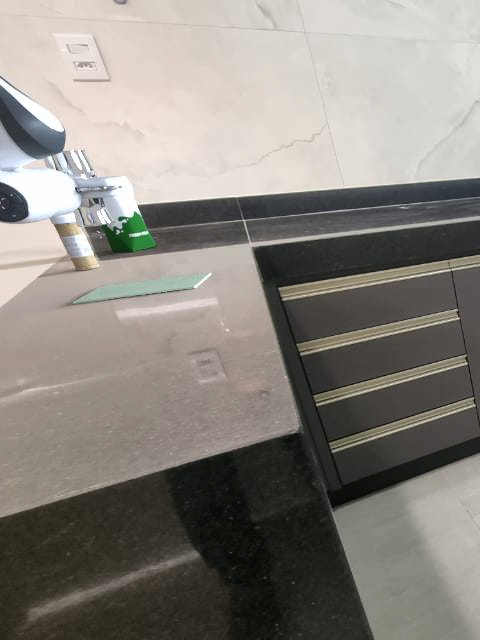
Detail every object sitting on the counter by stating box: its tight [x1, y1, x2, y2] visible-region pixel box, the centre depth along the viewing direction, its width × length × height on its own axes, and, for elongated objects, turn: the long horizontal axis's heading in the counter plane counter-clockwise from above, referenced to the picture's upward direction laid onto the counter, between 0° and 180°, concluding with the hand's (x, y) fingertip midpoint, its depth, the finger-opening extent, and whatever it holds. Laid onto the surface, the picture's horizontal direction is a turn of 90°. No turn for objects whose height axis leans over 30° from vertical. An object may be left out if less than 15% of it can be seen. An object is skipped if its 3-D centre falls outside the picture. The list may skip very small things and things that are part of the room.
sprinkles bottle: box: [48, 212, 100, 271], centre depth 130 cm, size 5×5×14 cm
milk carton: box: [100, 183, 157, 253], centre depth 150 cm, size 9×9×20 cm
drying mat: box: [72, 272, 212, 305], centre depth 113 cm, size 20×13×1 cm, turn 114°
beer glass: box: [42, 149, 115, 228], centre depth 112 cm, size 7×7×15 cm
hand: (80, 185), depth 113 cm, fingers closed on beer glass, 6 cm apart
